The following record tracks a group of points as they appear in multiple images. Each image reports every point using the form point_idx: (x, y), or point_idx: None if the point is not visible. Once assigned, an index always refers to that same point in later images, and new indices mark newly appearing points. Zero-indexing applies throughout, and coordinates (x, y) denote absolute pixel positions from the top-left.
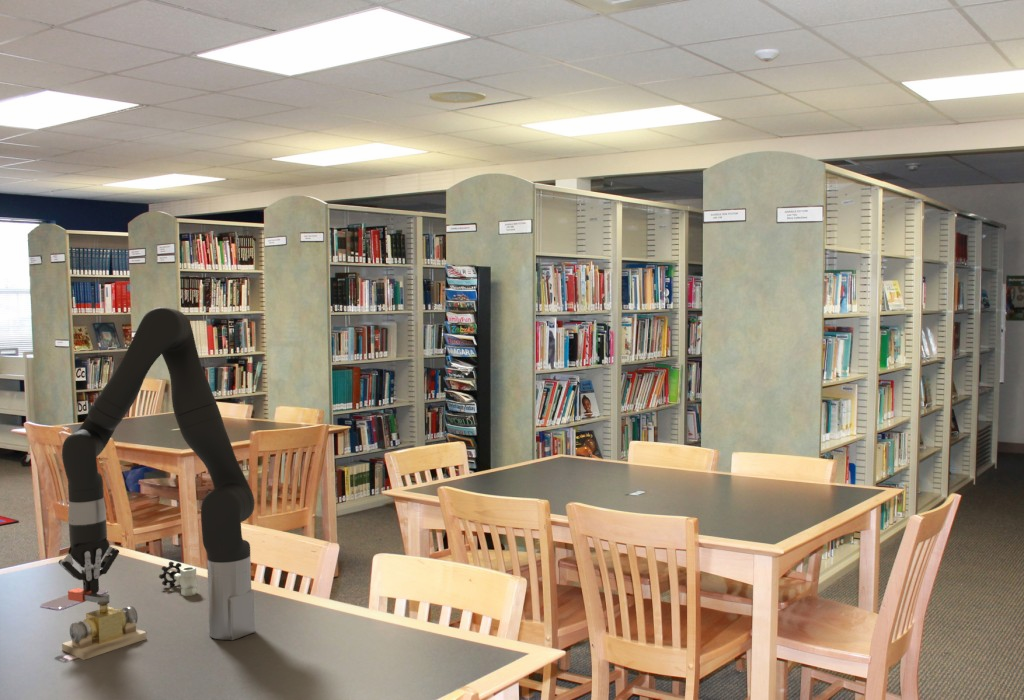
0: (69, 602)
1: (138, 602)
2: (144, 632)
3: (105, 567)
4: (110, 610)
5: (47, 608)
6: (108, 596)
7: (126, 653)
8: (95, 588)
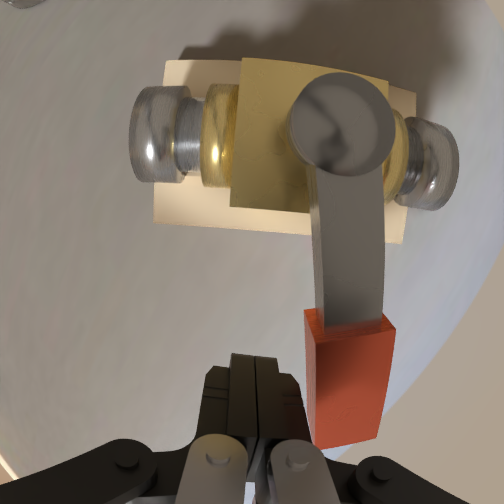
0: None
1: (44, 380)
2: (171, 63)
3: (103, 489)
4: (269, 131)
5: None
6: (323, 75)
7: (298, 17)
8: (239, 380)
